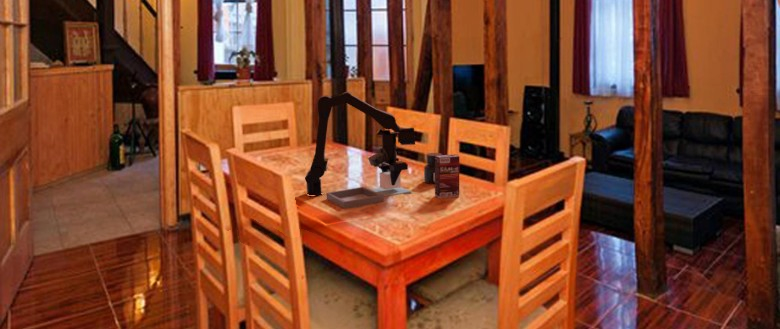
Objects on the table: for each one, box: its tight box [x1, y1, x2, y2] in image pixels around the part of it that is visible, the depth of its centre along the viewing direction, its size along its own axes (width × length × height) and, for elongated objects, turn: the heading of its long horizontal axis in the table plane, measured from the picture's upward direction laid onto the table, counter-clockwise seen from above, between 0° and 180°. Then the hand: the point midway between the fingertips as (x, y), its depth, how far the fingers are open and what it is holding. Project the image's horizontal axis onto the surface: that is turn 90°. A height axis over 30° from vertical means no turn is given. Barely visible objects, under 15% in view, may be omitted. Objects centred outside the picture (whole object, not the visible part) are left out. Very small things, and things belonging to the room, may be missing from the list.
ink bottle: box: [423, 152, 443, 185], centre depth 235 cm, size 10×9×12 cm
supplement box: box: [434, 153, 460, 199], centre depth 212 cm, size 9×5×16 cm, turn 105°
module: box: [378, 171, 402, 190], centre depth 220 cm, size 4×7×6 cm, turn 120°
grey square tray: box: [325, 186, 384, 210], centre depth 209 cm, size 16×16×3 cm
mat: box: [370, 186, 412, 198], centre depth 221 cm, size 12×12×1 cm
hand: (390, 184), depth 221 cm, fingers closed on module, 4 cm apart
